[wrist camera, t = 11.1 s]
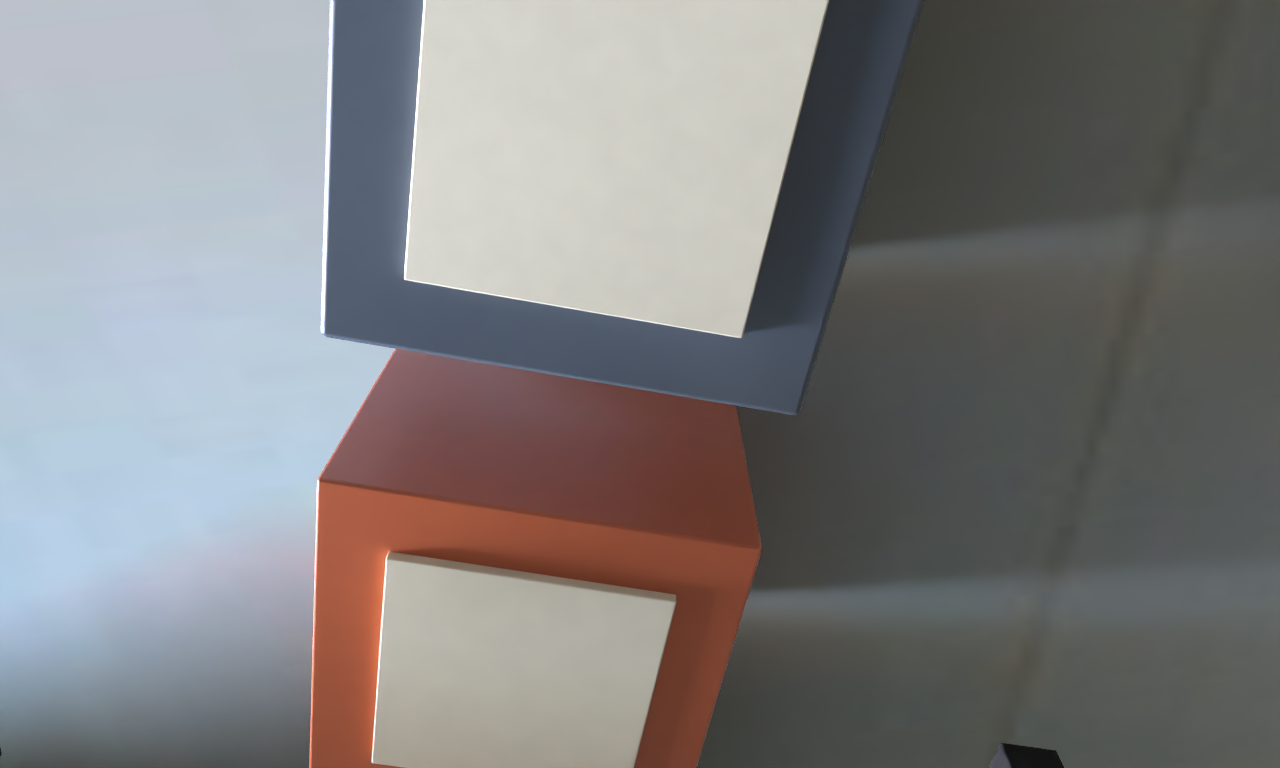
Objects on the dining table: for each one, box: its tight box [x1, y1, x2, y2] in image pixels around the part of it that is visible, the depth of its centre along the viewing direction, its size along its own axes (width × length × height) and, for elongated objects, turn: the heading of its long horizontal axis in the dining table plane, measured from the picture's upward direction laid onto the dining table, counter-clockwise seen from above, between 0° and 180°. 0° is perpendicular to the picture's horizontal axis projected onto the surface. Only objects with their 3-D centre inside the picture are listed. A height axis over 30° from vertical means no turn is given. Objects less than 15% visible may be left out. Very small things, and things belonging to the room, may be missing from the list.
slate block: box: [321, 0, 925, 415], centre depth 12 cm, size 6×6×6 cm
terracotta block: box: [309, 348, 762, 768], centre depth 16 cm, size 6×6×6 cm
